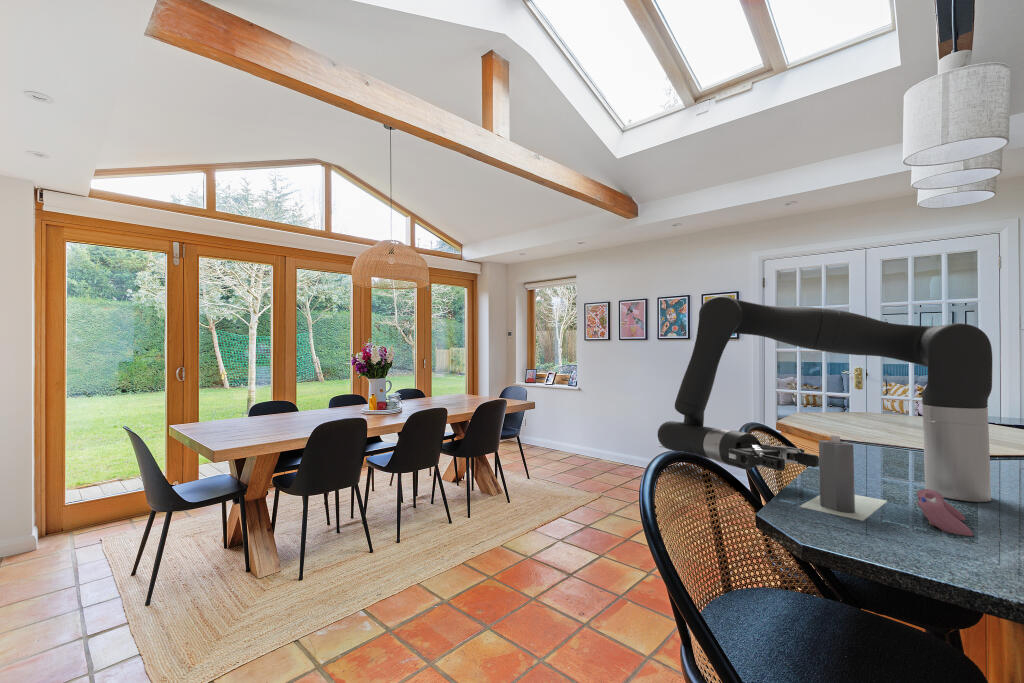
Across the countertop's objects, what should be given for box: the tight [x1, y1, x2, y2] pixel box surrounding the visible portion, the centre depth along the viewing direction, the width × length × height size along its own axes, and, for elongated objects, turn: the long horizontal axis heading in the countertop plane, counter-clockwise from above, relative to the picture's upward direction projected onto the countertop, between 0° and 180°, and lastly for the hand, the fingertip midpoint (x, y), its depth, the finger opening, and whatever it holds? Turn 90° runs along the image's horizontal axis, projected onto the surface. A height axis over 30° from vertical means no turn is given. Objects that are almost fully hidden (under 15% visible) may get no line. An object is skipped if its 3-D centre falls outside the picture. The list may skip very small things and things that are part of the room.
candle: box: [818, 434, 856, 513], centre depth 78 cm, size 5×3×12 cm, turn 20°
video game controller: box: [915, 488, 974, 537], centre depth 71 cm, size 10×5×7 cm, turn 141°
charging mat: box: [798, 494, 888, 522], centre depth 81 cm, size 16×9×1 cm, turn 130°
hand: (800, 463), depth 84 cm, fingers open, 8 cm apart
